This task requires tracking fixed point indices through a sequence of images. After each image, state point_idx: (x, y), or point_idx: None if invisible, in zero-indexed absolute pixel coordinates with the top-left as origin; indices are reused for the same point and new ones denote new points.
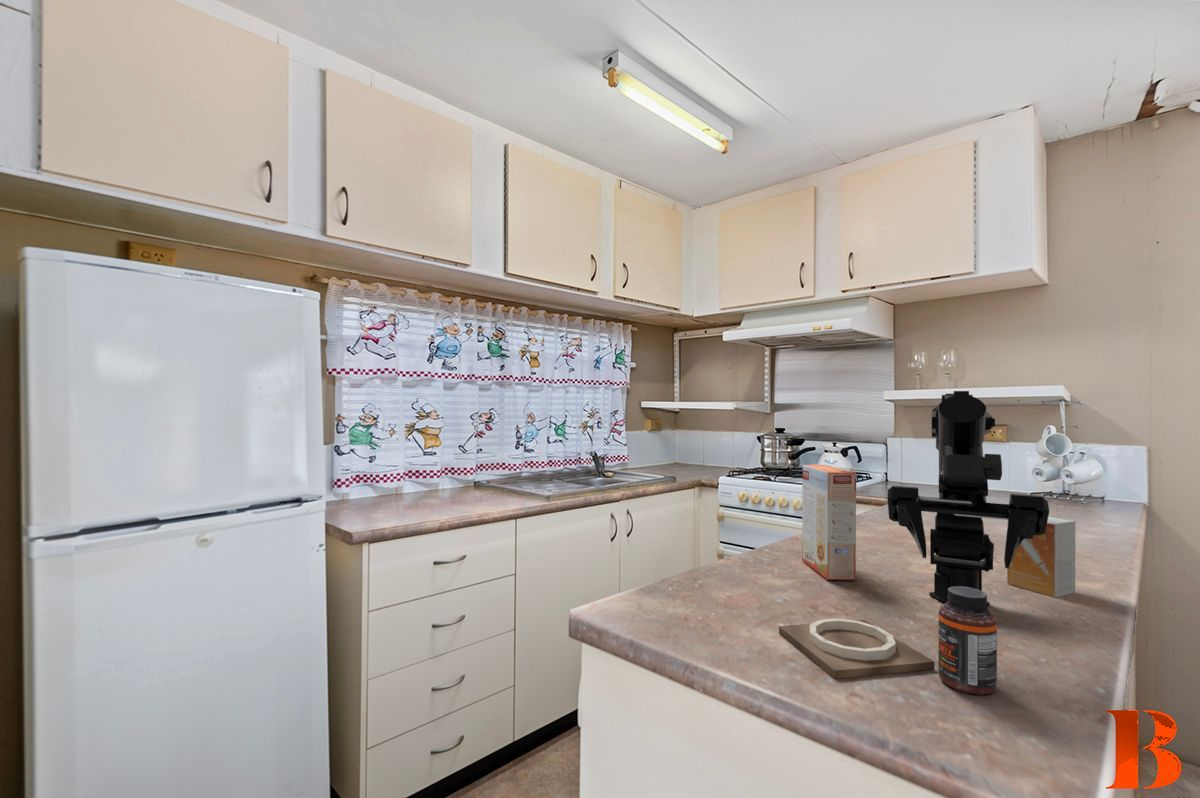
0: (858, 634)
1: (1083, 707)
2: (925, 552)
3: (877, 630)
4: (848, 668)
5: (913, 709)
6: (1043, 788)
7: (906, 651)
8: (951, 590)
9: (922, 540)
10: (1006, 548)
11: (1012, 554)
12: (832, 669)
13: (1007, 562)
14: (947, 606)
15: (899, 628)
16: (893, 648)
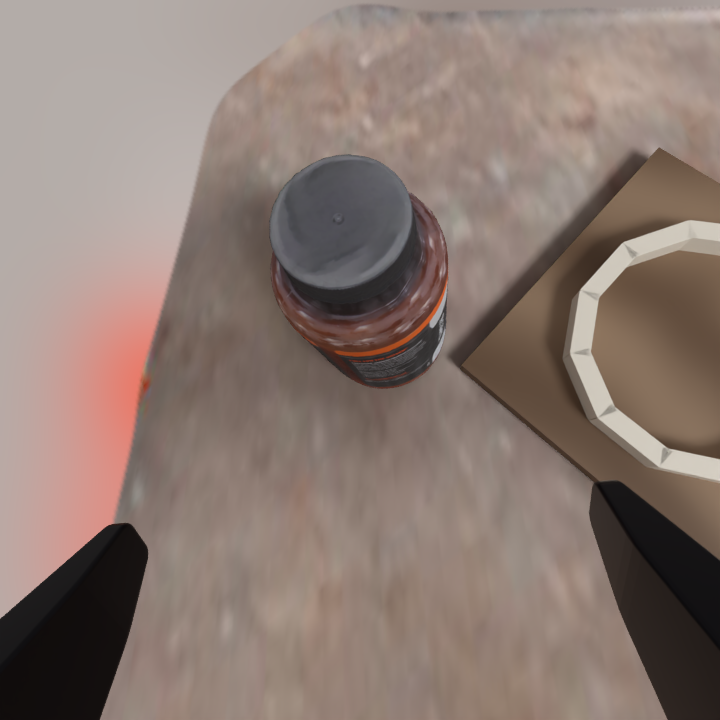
0: (704, 435)
1: (183, 371)
2: (603, 485)
3: (653, 438)
4: (635, 180)
5: (465, 145)
6: (271, 53)
7: (538, 387)
8: (395, 184)
9: (684, 561)
10: (45, 614)
11: (44, 583)
12: (667, 153)
13: (113, 530)
14: (413, 211)
15: (617, 655)
16: (569, 339)
